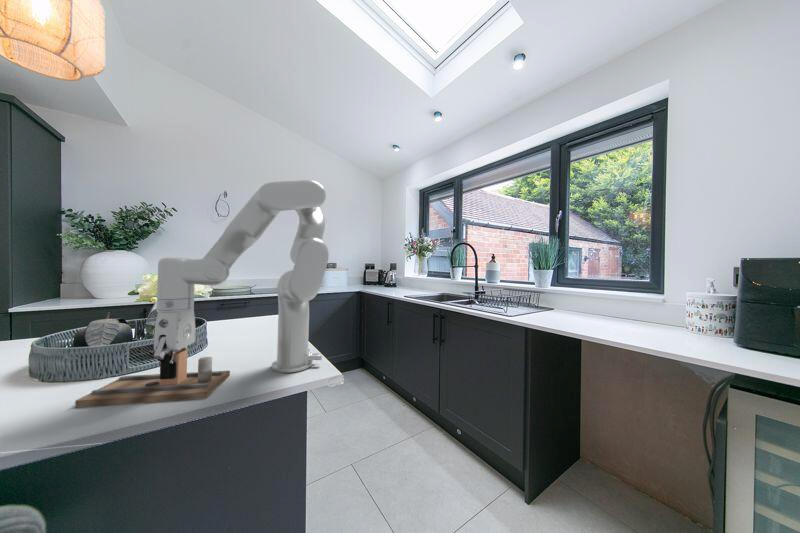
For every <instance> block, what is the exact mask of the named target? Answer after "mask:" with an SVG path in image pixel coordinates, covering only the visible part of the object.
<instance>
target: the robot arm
mask: <svg viewBox="0 0 800 533" xmlns="http://www.w3.org/2000/svg"><path fill="white" fill-rule="evenodd" d="M326 196H327V193H326V190H325V188H324V186H323V185H322V184H321V183H319V182H318V181H315V180H313V179H312V180H311V179H304V180H303V179H302V180H285V181H283V180H282V181H271V182H266V183H264V184H263V185H261V186H260V187H259V189H258V190H257V191H255V192H254V194H253V195H252V196H251V197H250V199H249V200H248V201H247V202H246V203H245V205H244V206H243V207H242V208H241V209H240V211H238V213H236V215H235V216H234V218H233V219H232V220H231V221H230V222H229V224H228V225H227V226H226V228H225V229H224V231H223V233H222V234H221V235H220V237H219V239H217V241H215V243H214V244H213V246H212V247H211V248H210V249H209V250H208V252H207V253H206V254H205V255H204V257H203V258H199V259H198V258H197V259H196V258H195V259H192V258H188V257H187V258H186V257H185V258H184V257H163V258H161V259H160V260H158V262H157V279H156V280H157V285H156V288H157V289H156V310H155V311H156V314H157V315H156V319H155V324H154V325H155V326H154V334H153V349H154V354H153V357H154V359H157V360H158V364H159V366H160V367H159V374H160V379H174V378H175V377H176V362H174V361H175V354H176V351H179V350H181V349H188V350H187V355H188V354H189V347H190V345H192V344H193V343H195V341H196V317H195V315H196V314H195V285H201V286H208V287H209V286H210V287H211V286H219V285H221V284H224V283H225V282H226V281H227V280H228V278H229V275H230V269H231V268H232V267H233V266H234V264H235V263H236V262H237V260H238V259H239V258H240V257H241V256H242V255H243V253H245V252H246V251H248V249H250V248H251V247H252V246H253V245H254V244H256V242H257V241H258V240H259V239H261V236H262V235H263V234H264V232H265V231H266V230H267V228H269V226H270V225H271V223H272V222H273V221H274V220H275V219H276V217H277V216H278V214H280V212H282V211H283V212H284V211H295V212H296V214H297V216H298V221H299V222H298V226H297V231H296V234H295V237H294V240H293V243H292V246H291V249H290V253H289V257H290V260H291V262H292V263H293V264H294V266H293V268H292V269H291V270H288V271H286V272H284V273H282V274H281V276H280V278H279V279H278V282H277V287H276V288H277V302H278V307H277V308H278V311H277V312H278V314H277V315H278V316H277V342H276V343H277V345H276V346H277V350H276V360H275V361H273V362H272V364H271V370H273V371H274V372H278V373H282V374H283V373H284V374H285V373H286V374H288V373H297V372H301V371H304V370H307V369H309V368H310V367H312V366H313V363H314V361H322V359H323V358H322V357H323V354H322V353H319V352H311V349H310V348H309V332H310V330H309V329H310V328H309V327H310V325H309V324H310V301H311V300H313V299H314V298H316V296H317V295H318V293H319V291H320V290H321V286H322V283H323V280H324V277H325V273H326V269H327V267H328V266H327V265H328V261H329V256H330V255H329V249H328V248H329V247H328V246H327V244H326V243H325V242H324V241H323V238H324V234H325V227H326V222H325V221H326V219H325V216H324V214H323V212H322V210H321V208H320V207H321V206H323V204H324V203H325V202H326V198H327V197H326ZM167 349H168V350H167ZM166 353H171V354H170V356H169V355H166Z"/></svg>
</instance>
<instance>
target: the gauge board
mask: <svg viewBox="0 0 800 533" xmlns="http://www.w3.org/2000/svg"><path fill="white" fill-rule="evenodd" d="M197 361H198V364H197V365H198V366H197V371H194V372H193V371H191V372H187V379H185V380H184V381H183V382H181V383H180V384H178V385H168V386H160V373H157V374H156V373H155V374H138V375H137V374H136V375H124V376H120V377H119V378H118V379H115V380H114V381H111V382H110V383H108V384H106V385H104V386H102V387H100V388H98V389H94V390H92V391H91V392H90V393H88V394H86V395H84V396H82V397H80V398H78V399H76V400H75V404H74V407H75V408H86V407H98V406H99V407H100V406H101V407H102V406H112V405H128V404H129V405H130V404H144V403H156V402H157V403H159V402H171V401H172V402H173V401H185V400H198V399H199V400H201V399H202V400H203V399H208V397H209V396H210V395H212V394H213V393H214V392H215V391H216V390H217V389H218V388H219V387H220V386H221V385H222V384H223V383H224V382H225V381H226V380H227V379H228V378H229V377H230V375H231V371H230V370H215V371H214V370H213V357H212V356H204V357H200V358H198V360H197Z"/></svg>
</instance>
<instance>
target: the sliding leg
mask: <svg viewBox="0 0 800 533" xmlns="http://www.w3.org/2000/svg"><path fill="white" fill-rule="evenodd" d="M187 350H188V351H189V348H188V349H181V350H179V351H176V354H175V361H174V362H176V377H175V378H174V379H160V386H168V385H178V384H180V383H181V382H183V381H184V380H185V379H187V373H188V354H187ZM170 354H171V353H166V355H169V356H170Z"/></svg>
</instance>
